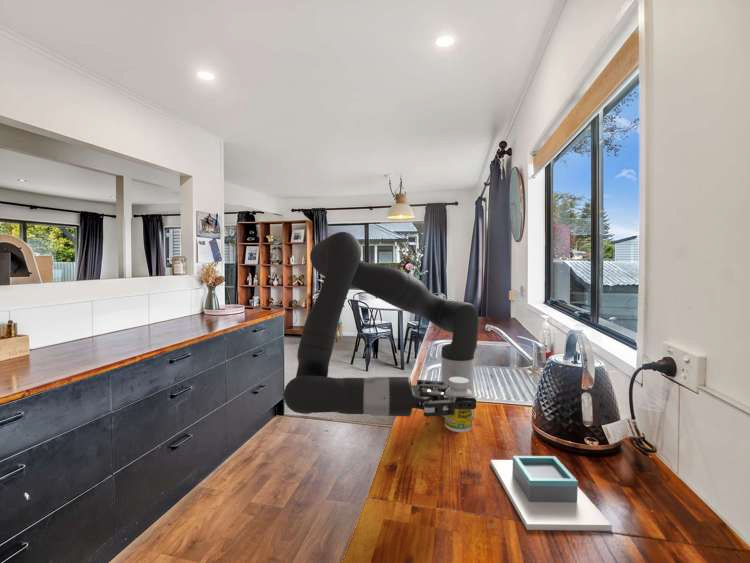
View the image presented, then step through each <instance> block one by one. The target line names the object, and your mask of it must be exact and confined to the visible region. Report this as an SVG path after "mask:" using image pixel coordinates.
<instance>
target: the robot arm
mask: <svg viewBox="0 0 750 563" xmlns="http://www.w3.org/2000/svg"><path fill="white" fill-rule="evenodd" d="M309 256H310V258H309V259H310V263H311V265H312V267H313V268H314V269H315V271H316V272H317V273H318V274H320V275H321V276H323V277H324V279H323V283H322V285H321V287H320V291H319V293H318V295H317V297H316V299H315V301H314V303H313V305H312V306H311V309H310V311H309V313H308V315H307V317H306V320H305V323H304V325H303V328H302V332H301V337H300V340H299V345H298V349H297V358H296V359H297V361H298V365H297V370H296V373H295V374H296V375H295V377H294V378H292V379H291V380H290V381H288V383H287V384H286V385H285V387H284V390H283V401H284V403H285V404H286V406H287V407H288V408H289V410H291V411H292V412H294V413H297V414H303V415H311V414H314V413H316V414H317V413H318V414H319V413H321V414H322V413H338V414H341V415H342V414H343V415H369V416H374V417H410V416H411V414H412V409H417V410H422V411H423V416H424V417H427V418H428V417H442V418H443V419H445V416H446V415H454V414H455V411H456V409H472V419H473V417H474V410H475V409H476V408H477V398H476V397H474V389H475V388H474V382H475V381H474V380H475V377H474V376H475V373H474V372H475V353H476V349H477V346H478V337H479V336H478V333H479V321H480V320H479V312H478V309H477V308H476V306H475V305H474V304H472V303H470V302H465V301H458V300H450V299H446V298H443V297H441V296H438V295H435V294H434V293H432V292H431V291H430V290H429V289H428V287H426V285H425V284H424V283H423V281H421V280H420V279H419V278H417V277H416V276H414V275H412V274H410V273H408V272H406V271H404V270H401V269H399V268H396V267H392V266H387V265H382V264H381V265H380V264H374V263H370V262H367V261H364V260H361V259H362V248H361V244H360V242H359V240H358V239H357V238H356V236H355V235H353V234H351V233H350V232H346V231H339V232H335V233H332V234H331V235H329V236H327V237H326V238H325V237H324V239H322V240H320V241H319V242H318V243H316V244H315V245H314V246H313V247H312V249H311V251H310V255H309ZM351 287H354V288H356V289H359V290H360V291H362V292H365V293H367V294H369V295H371V296H373V297H374V298H377V299H379V300H381V301H383V302H385V303H387V304H390V305H391V306H394V307H396V308H397V309H400V310H403V311H405V312H408V313H409V314H412V315H416V316H419V317H422V318H423V319H426V320H427V321H429V322H431V323H432V324H433V325H435V326H437V327H438V328H440V329H441V330H443V331H445V332H449V333H452V340H451V342H450V343H447V344H444V345H443V346H442V347H441V352H440V353H441V358H440V359H441V360H440V361H441V362H440V366H441V367H440V368H441V369H440V380H428V379H426V380H425V379H416V384H415V385H412V380H411V378H410V377H408V376H372V377H371V376H370V377H342V378H341V377H330V376H328V375H329V367H330V366H329V365H330V361H331V357H332V355H333V354H332V353H333V348H334V346H335V345H334V344H335V341H336V336H337V335H336V334H337V330H338V326H339V322H340V318H341V315H342V311H343V309H344V306H345V302H346V299H347V296H348V294H349V291H350V288H351ZM451 377H463V378H466V379H468V380H469V388H468V389H469V390H470V391H471V392H472V397H454V396H448V395H445V391H446V390H447V389H448V388H449V385H448V384H449V378H451Z"/></svg>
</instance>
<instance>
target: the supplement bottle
mask: <svg viewBox="0 0 750 563" xmlns="http://www.w3.org/2000/svg"><path fill="white" fill-rule="evenodd" d="M448 385H449V388H448V389H447V390H446V391H445V395H448V396H454V397H472V392H471V391H470V390H469V389H468V388H469V380H468V379H466V378H463V377H451V378H449V384H448ZM472 423H473V418H472V409H456V411H455V414H454V415H446V416H445V418H444V426H445V427H446V428H447V429H448V430H450V431H452V432H457V433H464V432H468V431H470V430H471V429H472Z"/></svg>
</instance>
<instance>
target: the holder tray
mask: <svg viewBox="0 0 750 563" xmlns="http://www.w3.org/2000/svg"><path fill="white" fill-rule="evenodd" d="M490 466H491V468H492V470H493V471H494V473H495V475H496V477H497V479H498V480H499V483H500V484H501V485H502V487H503V489H504V491H505V493H506V494H507V496H508V498H509V500H510V502H511V503H512V505H513V507H514V508H515V511H516V512H517V515H518V516H519V518H520V520H521V521H522V523H523V525H524V527H525V528H526V531H586V532H588V531H595V532H596V531H598V532H599V531H603V532H605V531H606V532H611V531H612V530H613V525H612V523H611V522H610V521H609V520H608V519H607V518H606V516H604V514H603V513H602V512H601V511H600V510H599V508H597V506H596V505H595V504H594V503H593V502H592V501H591V499H590V498H589V497H588V496H587V495H586V494H585V492H583V491H582V489H581V488H579V486H578V485H579V480H577V479H576V477H575V476H574V475H573V474H572V473H571V472H570V470H568V468H566V466H564V464H563V463H562V462H561V461H560V459H558V458H557V456H555V455H541V456H540V455H512V459H490Z"/></svg>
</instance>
